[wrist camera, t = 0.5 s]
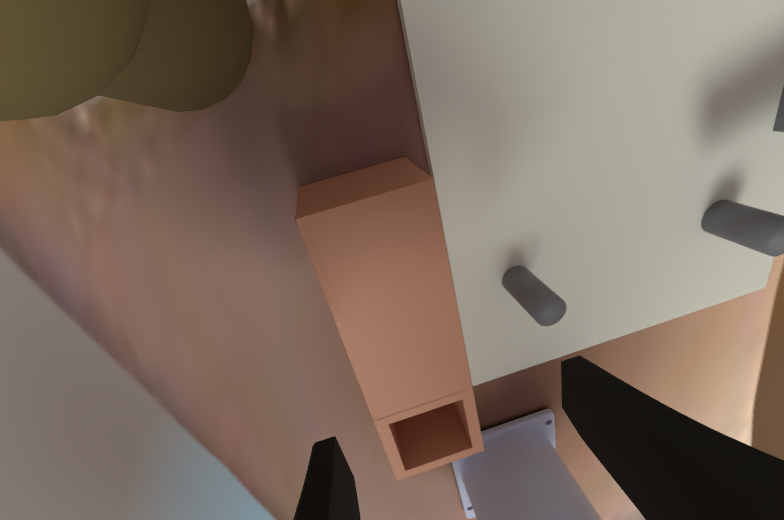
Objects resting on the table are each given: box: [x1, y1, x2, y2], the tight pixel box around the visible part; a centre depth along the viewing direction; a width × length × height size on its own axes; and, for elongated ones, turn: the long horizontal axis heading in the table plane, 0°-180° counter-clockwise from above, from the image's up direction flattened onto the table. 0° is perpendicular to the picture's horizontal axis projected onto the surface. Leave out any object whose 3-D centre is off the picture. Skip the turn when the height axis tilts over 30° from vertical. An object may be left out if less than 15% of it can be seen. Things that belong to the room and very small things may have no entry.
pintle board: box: [397, 0, 784, 386], centre depth 17 cm, size 22×21×6 cm
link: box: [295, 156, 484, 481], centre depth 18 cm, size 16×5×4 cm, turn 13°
